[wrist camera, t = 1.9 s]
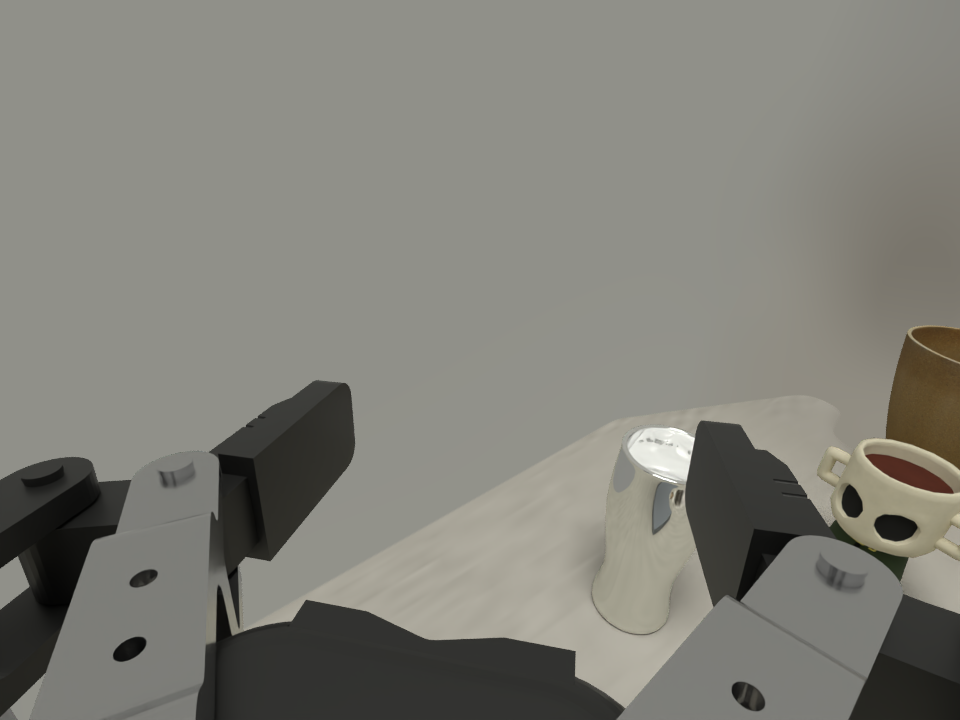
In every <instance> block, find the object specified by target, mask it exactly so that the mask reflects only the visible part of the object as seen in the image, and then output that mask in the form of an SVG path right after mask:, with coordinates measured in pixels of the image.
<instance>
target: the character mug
mask: <svg viewBox="0 0 960 720" xmlns="http://www.w3.org/2000/svg"><path fill="white" fill-rule="evenodd" d="M836 460H837V461H839V462H841V463H843V464H845V465H846V468H845V470H844V471H843V473H842V475H841V477H839V476H837V475H836V474H834V473H832V472H831V470H832V468H833V466H834V464H835V462H836ZM817 475H818V476H819V477H820V478H821V479H822V480H824V481H825V482H827V483H829V484H830V485H832V486H834V487H835V489H834V492H833V494H832V496H831V498H830V499H831V508H832V513H833V515H834V517H835V519H836V520H835V521H834V522H833V524H832V525H831V526H830V527H829V528H830V530H831V531H832V533H833V534H834V536H835V537H836V539H837V540H839V541H842V542H845V543H848V544H850V545H852V546H855V547H857V548H859V549H861V550H863V551H865V552H867V553H868V554H870V555H872V556H873V557H875V558H876V559H878V560H879V561H880V562H882V563H883V564H884V565H885V566H886V567H888V568H889V569H890V570H891V571H892V573H893V574H894V575H895V576H896V577H897V579H898V580H899V582H900V581H901V578H902V575H903V572H904V569H905V566H906V564H907V561H908V558H909V557H910V558H915V557H918V556H922V555H925V554H928V553H930V552H932V551H934V550H935V549H936V548H937V549H939V550H940V551H942V552H944V553H945V554H947V555H949V556H950V557H952V558H954V559H955V560H958V561H960V545H959V546H958V545H956V544H954V543H953V542H951V541H949V540H947V539H946V538H944V535H945V534H946V532H947V531H948V529H949V528H950V526H951V525H954V526H956V527H957V528H959V529H960V513H959V512H960V470H959V469H958V468H957V467H955V466H954V465H953V464H951V463H950V462H948V461H946V460H944V459H943V458H941V457H939V456H937V455H936V454H934V453H931V452H929V451H926V450H924V449H921V448H919V447H916V446H914V445H911V444H907V443H903V442H899V441H896V440H892V439H881V438H871V439H865V440H862V441H861V442H860V443H859V445H858V446H857V447H856V449H855V450H854V451H853V453H852V455H850V454H848V453H846V452H845V451H843V450H841V449H839V448H835V447H831V446H830V447H829V448H828V449H827V450H826V452H825V454H824V456H823V459H822V461H821V463H820V465H819V467H818V470H817Z"/></svg>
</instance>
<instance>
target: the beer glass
mask: <svg viewBox="0 0 960 720" xmlns="http://www.w3.org/2000/svg"><path fill="white" fill-rule="evenodd" d="M694 440H695V435H694V434H692V433H690V432H687V431H685V430H682V429H679V428H675V427H671V426H665V425H642V426H638V427H635V428H633V429H631V430H629V431H628V432H627V433H626V434H625V436H624V437H623V441H622V445H621V448H620V451H619V454H618V457H617V460H616V463H615V466H614V469H613V472H612V476H611V480H610V483H609V489H608V494H607V499H606V513H605V557H604V561H603V563H602V566H601V567H600V569H599V571H598V573H597V575H596V577H595V579H594V581H593V584H592V599H593V602H594V604H595V606H596V608H597V610H598V611H599V613H600V614H601V615H602V616H603V617H604V618H605V619H606V620H607V621H608V622H609V623H610V624H612V625H613V626H615V627H617V628H618V629H620V630H623V631H625V632H628V633H632V634H650V633H653V632H655V631H657V630H659V629H660V628H661V627H662V626H663V625H664V624H665V622H666V620H667V618H668V614H669V605H670V592H671V588H672V585H673V583H674V581H675V579H676V577H677V576H678V574H679V573H680V571H681V570H682V568H683V567H684V565H685V564H686V563H687V561H688V560H689V558H690V557H691V555H692V554H693V552H694V551H695V549H696V545H695V541H694V538H693V534H692V531H691V527H690V524H689V520H688V517H687V513H686V507H685V488H686V481H687V476H688V471H689V466H690V461H691V456H692V450H693V445H694Z"/></svg>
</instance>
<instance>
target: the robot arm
mask: <svg viewBox="0 0 960 720" xmlns="http://www.w3.org/2000/svg"><path fill="white" fill-rule="evenodd" d="M354 448H355V436H354V423H353V411H352V400H351V391H350V388H349V386H348V385H347V384H346V383H338V382H328V381H319V380H316V381H314V382H312V383H311V384H309V385H308V386H307V387H305V388H304V389H303V390H301V391H300V392H299V393H297V394H296V395H295V396H293V397H292V398H290V399H287V400H285V401H282V402H280V403H277V404H275V405H273V406H271V407H270V408H268V409H267V410H266V411H264V412H263V413H262V414H260V415H259V416H258V419H257V418H255V419H253V420H252V421H251V422H249V423H248V424H247V425H246V427H243V428H241V429H240V430H239V431H237V432H236V433H235V434H233V435H232V436H231V437H229V438H227V439H226V440H225V441H223V442H222V443H221V444H219V445H218V446H217V447H215V448H214V449H212V450H211V451H210V452H203V451H188V452H180V453H176V454H171V455H168V456H165V457H162V458H159V459H157V460H155V461H152V462H151V463H149V464H147V465H145V466H144V467H142V468H141V469H140V470H139V471H137V472H136V473H135V475H134V476H133V478H132V480H123V481H108V482H98V480H97V477H96V473H95V470H94V467H93V464H92V462H91V461H89V460H88V459H85V458H79V457H66V458H58V459H52V460H48V461H44V462H40V463H37V464H34V465H31V466H28V467H25V468H23V469H21V470H18V471H16V472H14V473H12V474H10V475H9V476H7V477H5V478H3V479H1V480H0V568H1V567H3V566H4V565H5V564H7V563H8V562H10V561H11V560H13V559H14V558H15V557H17V556H18V557H19V560H20V562H21V565H22V568H23V570H24V573H25V575H26V578H27V580H28V583H29V585H30V587H29V588H28V589H26V590H25V591H24V592H22V593H21V594H20V595H19V596H17V597H16V598H15V599H13V600H12V601H11V602H10V603H8V604H7V605H6V606H5V607H3V608H2V609H1V610H0V720H17V718H16V717H15V715H14V713H13V712H12V710H11V709H10V707H11V706H12V705H13V704H14V703H15V702H16V701H17V700H18V699H19V698H20V697H21V696H22V695H23V694H24V693H25V692H26V691H27V690H28V689H30V687H31V686H33V685H34V684H35V683H36V682H37V680H39V678H41V677H42V676H43V675H44V674H45V673H46V674H45V677H44V679H43V682H42V685H41V688H40V691H39V694H38V697H37V699H36V702H35V705H34V708H33V711H32V714H31V716H30V719H29V720H960V614H958V613H955V612H952V611H949V610H946V609H943V608H940V607H937V606H934V605H931V604H928V603H925V602H922V601H920V600H917V599H914V598H912V597H909V596H907V595H904V594H903V590H902V586H901V584H900V582H899V580H898V579H897V577H896V576H895V575H894V574H893V573H892V571H891V570H890V569H889V568H888V567H886V566H885V565H884V564H883V563H882V562H880V561H879V560H878V559H876V558H875V557H873V556H872V555H870V554H868V553H867V552H865V551H863V550H861V549H859V548H857V547H855V546H852V545H850V544H848V543H845V542H842V541H839V540H837V539H836V537H835V536H834V534H833V533H832V531H831V530H830V528H829V527H828V525H827V524H826V522H825V521H824V519H823V518H822V516H821V515H820V513H819V512H818V511H817V509H816V508H815V506H814V505H813V503H812V502H811V500H810V499H807V494H806V493H805V491H804V490H803V488H802V487H801V485H798V481H797V480H796V478H795V477H794V475H793V474H792V472H791V471H790V469H789V468H788V466H787V465H786V464H784V463H783V462H781V461H780V460H779V459H777V458H776V457H775V456H773V455H772V454H771V453H769V452H768V451H767V450H758V449H755V448H754V447H753V445H752V443H751V442H750V440H749V438H748V437H747V435H746V433H745V432H744V430H743V428H742V427H741V425H739V424H730V423H720V422H711V421H700V423H699V424H698V427H697V430H696V435H695V440H694V445H693V450H692V456H691V461H690V466H689V471H688V476H687V481H686V488H685V507H686V513H687V517H688V520H689V524H690V527H691V531H692V534H693V538H694V541H695V545H696V548H697V552H698V555H699V558H700V562H701V565H702V569H703V572H704V576H705V579H706V583H707V586H708V590H709V593H710V597H711V600H712V604H713V607H714V608H713V609H712V610H711V611H710V612H709V614H708V615H707V616H706V617H705V618H704V619H703V620H702V622H701V623H700V624H699V625H698V626H697V627H696V629H695V630H694V631H693V632H692V633H691V634H690V635H689V637H688V638H687V639H686V640H685V641H684V642H683V643H682V645H681V646H680V647H679V648H678V649H677V650H676V652H675V653H674V654H673V655H672V656H671V657H670V658H669V660H668V661H667V662H666V663H665V664H664V665H663V666H662V668H661V669H660V670H659V671H658V672H657V673H656V675H655V676H654V677H653V678H652V679H651V680H650V681H649V683H648V684H647V685H646V686H645V687H644V688H643V689H642V691H641V692H640V693H639V694H638V695H637V696H636V698H635V699H634V700H633V701H632V702H631V703H630V704H629V706H628V707H627V708H626V709H625V708H624V707H623V706H622V705H620V704H619V703H618V702H616V701H615V700H614V699H612V698H611V697H610V696H608V695H607V694H606V693H604V692H602V691H601V690H599V689H597V688H596V687H594V686H592V685H591V684H589V683H587V682H585V681H583V680H581V679H579V678H577V677H575V651H571V650H566V649H561V648H556V647H550V646H545V645H540V644H535V643H529V642H524V641H519V640H514V639H508V638H483V639H458V640H428V639H424V638H422V637H420V636H417V635H415V634H413V633H411V632H409V631H407V630H405V629H403V628H401V627H399V626H396V625H394V624H392V623H390V622H388V621H386V620H384V619H382V618H380V617H378V616H376V615H373V614H371V613H369V612H367V611H362V610H356V609H351V608H346V607H341V606H336V605H330V604H325V603H320V602H315V601H309V600H306V601H305V602H304V604H303V605H302V607H301V608H300V610H299V611H298V613H297V614H296V616H295V617H294V619H293V620H292V622H282V623H275V624H268V625H264V626H260V627H256V628H252V629H249V630H247V631H244V626H243V602H242V578H241V572H240V567H239V564H240V562H241V561H242V560H243V559H244V558H245V557H250V558H256V559H261V560H267V561H271V560H272V559H273V557H274V556H275V555H276V554H277V552H278V551H279V550H280V549H281V548H282V546H283V545H284V544H285V543H286V542H287V540H288V539H289V538H290V537H291V535H292V534H293V533H294V532H295V531H296V529H297V528H298V527H299V526H300V525H301V523H302V522H303V521H304V520H305V518H306V517H307V516H308V515H309V514H310V512H311V511H312V510H313V509H314V507H315V506H316V505H317V504H318V503H319V501H320V500H321V499H322V497H324V495H325V494H326V493H327V492H328V490H329V489H330V488H331V487H332V485H333V484H334V483H335V482H336V481H337V480H338V478H339V477H340V476H341V475H342V473H343V472H344V471H345V470H346V469H347V467H348V466H349V464H350V462H351V460H352V457H353V454H354Z"/></svg>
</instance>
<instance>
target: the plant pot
mask: <svg viewBox="0 0 960 720" xmlns="http://www.w3.org/2000/svg"><path fill="white" fill-rule="evenodd" d="M886 439H892V440H896V441H899V442H903V443H907V444H911V445H914V446H916V447H919V448H921V449H924V450H926V451H929V452H931V453H934V454H936V455H937V456H939V457H941V458H943V459H944V460H946V461H948V462H950V463H951V464H953V465H954V466H955V467H957V468H958V469H959V470H960V328H952V327H944V326H918V327H913V328H911V329H909V330H908V332H907V335H906V338H905V342H904V344H903V348H902V351H901V355H900V358H899V361H898V365H897V368H896V373H895V377H894V381H893V386H892V391H891V396H890V402H889V409H888V416H887V427H886Z"/></svg>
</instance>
